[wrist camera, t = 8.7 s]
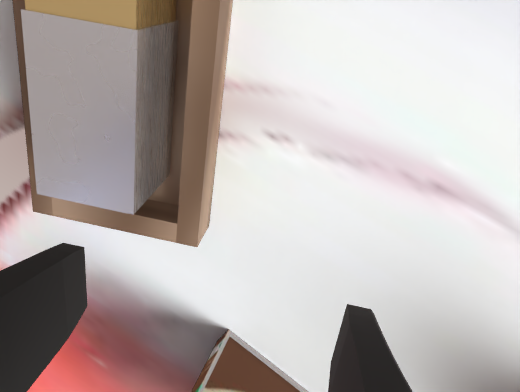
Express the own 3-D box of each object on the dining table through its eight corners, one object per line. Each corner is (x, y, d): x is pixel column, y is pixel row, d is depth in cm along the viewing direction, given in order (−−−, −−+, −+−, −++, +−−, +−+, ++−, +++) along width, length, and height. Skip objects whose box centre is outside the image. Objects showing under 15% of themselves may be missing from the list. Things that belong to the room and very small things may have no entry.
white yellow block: (88, 158, 21) (36, 193, 18) (83, -29, 18) (17, -32, 14) (169, 175, 21) (133, 214, 17) (180, -13, 17) (138, -11, 14)
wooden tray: (57, 193, 23) (33, 211, 21) (36, -110, 17) (1, -120, 15) (208, 225, 22) (197, 247, 20) (241, -79, 16) (228, -87, 15)
